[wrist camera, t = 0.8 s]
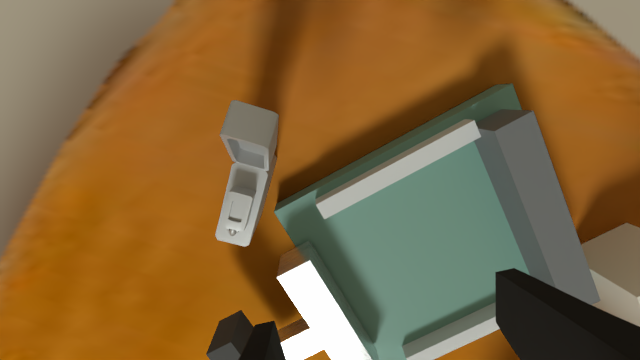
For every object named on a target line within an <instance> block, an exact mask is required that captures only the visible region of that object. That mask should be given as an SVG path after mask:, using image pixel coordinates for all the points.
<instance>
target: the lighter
mask: <svg viewBox="0 0 640 360" xmlns="http://www.w3.org/2000/svg"><path fill="white" fill-rule="evenodd" d="M278 119H279V115H278V114H276V113H275V112H273V111H270V110H266V109H263V108H260V107H257V106H253V105H250V104H247V103H243V102H240V101H237V100H233V101H231V104H230V106H229V109H228V112H227V115H226V118H225V121H224V124H223V127H222V130H221V132H220V136H221V138H222V140H223V142H224V144H225V146H226V149H227V151H228V153H229V155H230V157H231V159H232V161H234V162H235V163H234V164H233V165H232V168H231V172H230V176H229V180H228V185H227V189H226V193H225V197H224V201H223V205H222V210H221V214H220V218H219V222H218V226H217V230H216V235H215V236H216V238H217V239H218V240H220V241H224V242H228V243H232V244H236V245H240V246H244V247H246V246H247V245H249V244H250V241H251V239H252V237H253V234H254V232H255V229H256V227H257V224H258V222H259V220H260V217H261V215H262V211H263V208H264V204H265V200H266V197H267V193H268V189H269V186H270V182H271V178H272V175H273V171H274V168H275V164H276V160H277V157H276V156H275V155H274V152H275V149H276V146H277V133H278Z"/></svg>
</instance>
